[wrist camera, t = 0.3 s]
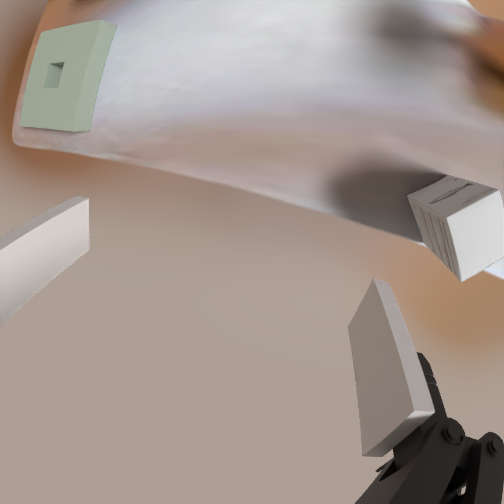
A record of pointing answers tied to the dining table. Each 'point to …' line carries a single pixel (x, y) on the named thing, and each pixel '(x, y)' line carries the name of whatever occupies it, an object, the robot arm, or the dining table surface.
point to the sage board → (66, 76)
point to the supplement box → (461, 224)
